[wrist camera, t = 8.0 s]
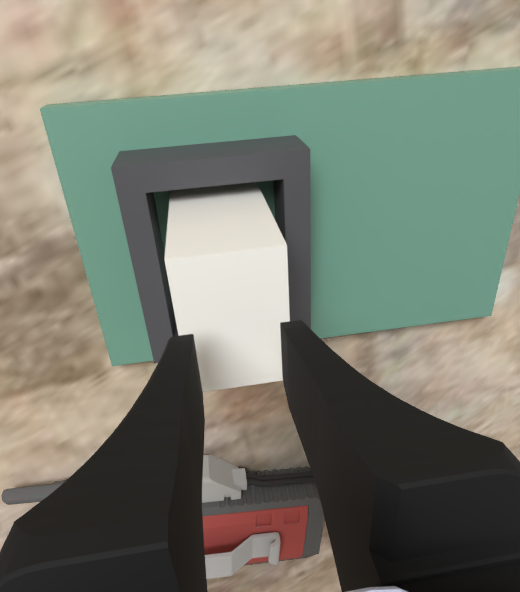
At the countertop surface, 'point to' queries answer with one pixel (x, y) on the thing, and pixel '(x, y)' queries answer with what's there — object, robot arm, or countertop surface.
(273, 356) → the plug
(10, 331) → the countertop surface
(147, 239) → the board
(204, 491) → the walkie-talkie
